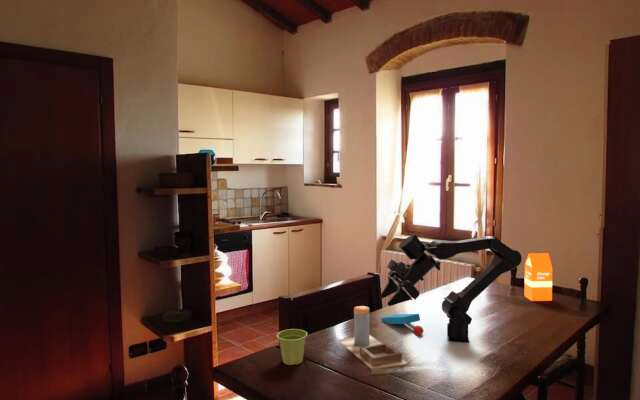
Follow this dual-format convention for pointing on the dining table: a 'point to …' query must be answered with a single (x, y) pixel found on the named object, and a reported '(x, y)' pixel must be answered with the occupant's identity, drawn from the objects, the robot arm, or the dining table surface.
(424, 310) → the dining table surface
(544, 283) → the orange juice
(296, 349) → the plant pot
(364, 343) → the orange-capped blue cylinder
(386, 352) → the jig
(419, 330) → the lever
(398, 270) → the robot arm
